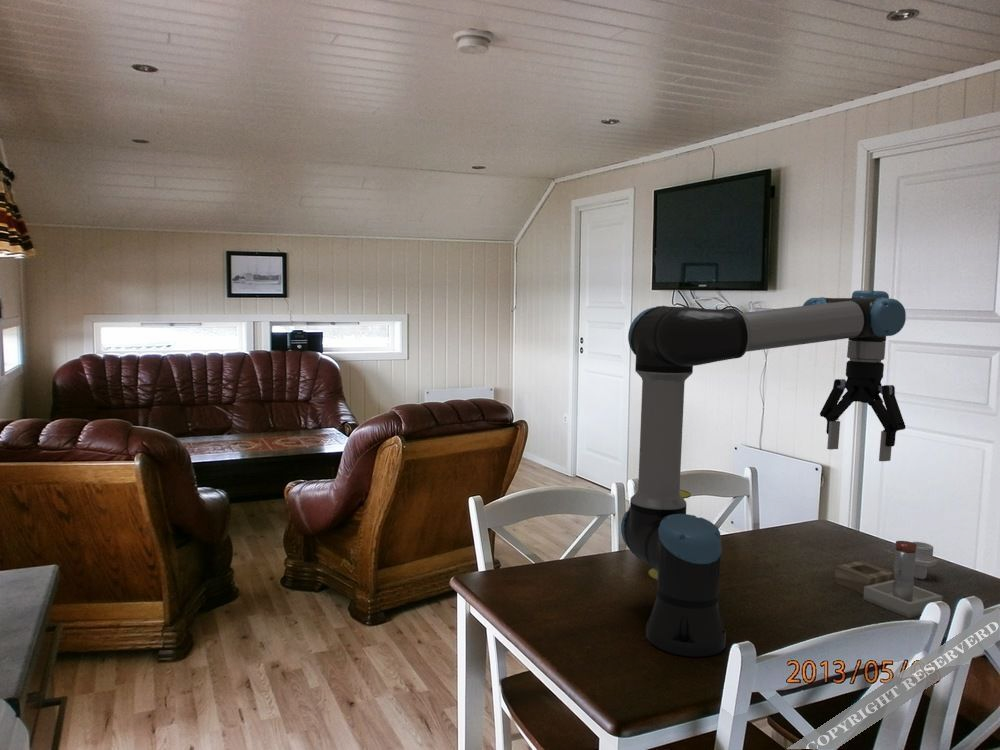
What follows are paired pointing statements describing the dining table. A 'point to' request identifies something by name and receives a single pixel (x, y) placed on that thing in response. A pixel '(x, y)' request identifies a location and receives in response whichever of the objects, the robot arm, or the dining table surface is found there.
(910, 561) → the grey tall cylinder
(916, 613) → the dish
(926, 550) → the pipe fitting
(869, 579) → the socket block
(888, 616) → the dining table surface
